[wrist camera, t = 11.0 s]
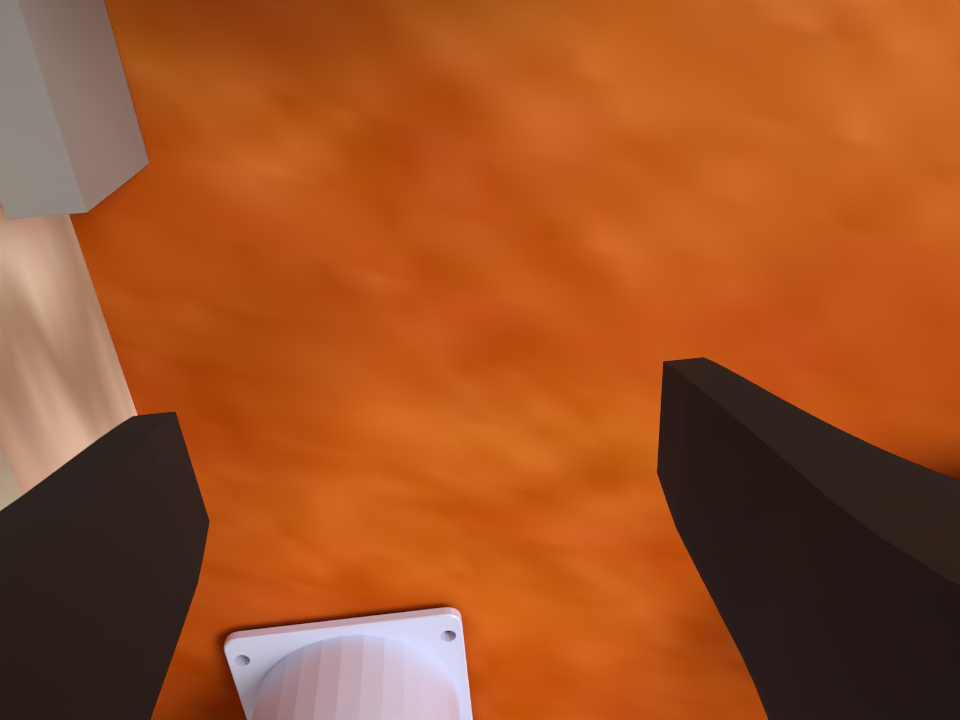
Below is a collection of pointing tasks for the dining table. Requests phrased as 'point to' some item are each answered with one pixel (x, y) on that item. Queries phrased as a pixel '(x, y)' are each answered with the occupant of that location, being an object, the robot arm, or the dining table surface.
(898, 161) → the dining table surface
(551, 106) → the dining table surface
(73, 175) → the grey stepped block
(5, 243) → the birch rail
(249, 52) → the dining table surface
